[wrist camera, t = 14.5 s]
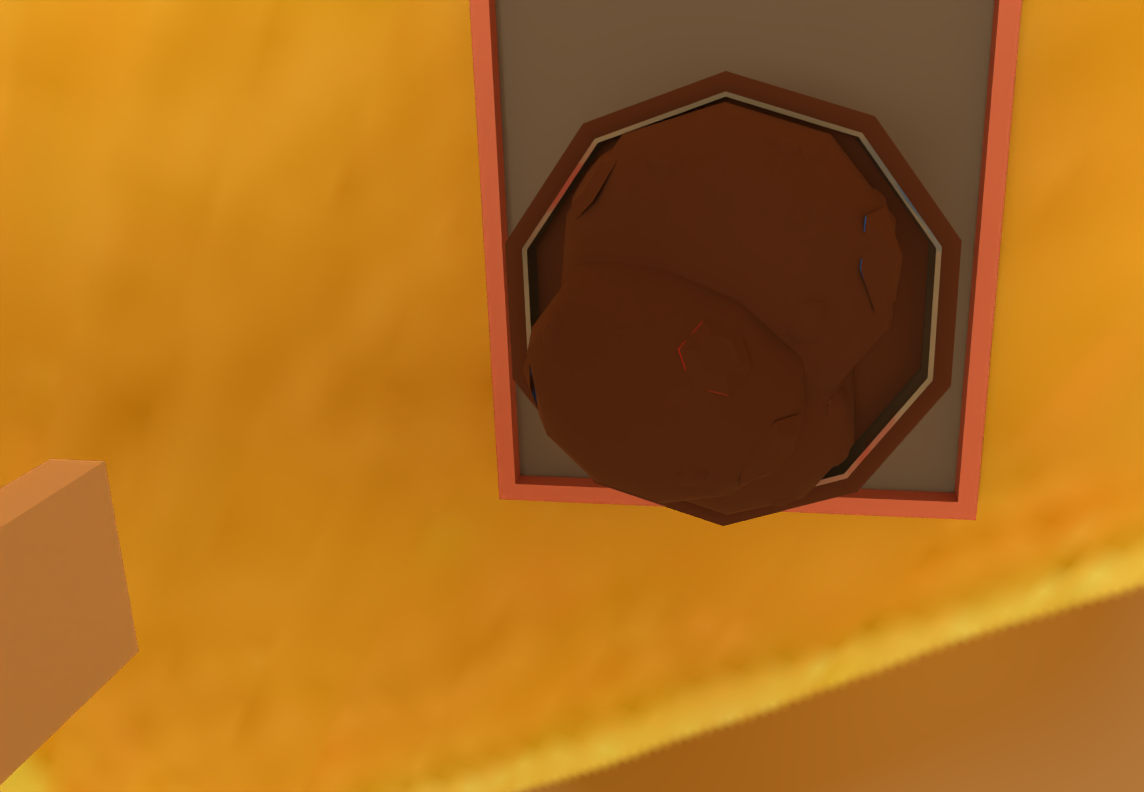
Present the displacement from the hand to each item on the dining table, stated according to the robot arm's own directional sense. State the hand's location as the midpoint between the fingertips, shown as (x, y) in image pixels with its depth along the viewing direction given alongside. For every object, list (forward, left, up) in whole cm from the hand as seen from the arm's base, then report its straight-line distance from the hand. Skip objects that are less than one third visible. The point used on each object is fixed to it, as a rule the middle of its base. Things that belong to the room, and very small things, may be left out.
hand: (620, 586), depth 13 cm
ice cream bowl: (0, 0, -24) cm, 24 cm away
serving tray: (0, 0, -25) cm, 25 cm away
